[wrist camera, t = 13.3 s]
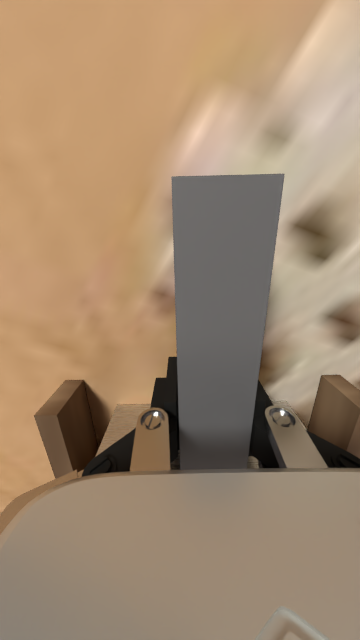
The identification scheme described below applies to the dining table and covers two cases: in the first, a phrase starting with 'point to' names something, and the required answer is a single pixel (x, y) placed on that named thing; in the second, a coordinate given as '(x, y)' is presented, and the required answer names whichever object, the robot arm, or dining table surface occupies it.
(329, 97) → the dining table surface
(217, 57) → the dining table surface
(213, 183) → the grey t-shaped block
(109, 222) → the dining table surface
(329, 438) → the walnut frame
